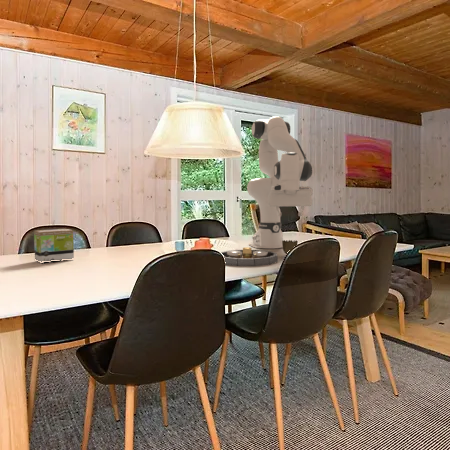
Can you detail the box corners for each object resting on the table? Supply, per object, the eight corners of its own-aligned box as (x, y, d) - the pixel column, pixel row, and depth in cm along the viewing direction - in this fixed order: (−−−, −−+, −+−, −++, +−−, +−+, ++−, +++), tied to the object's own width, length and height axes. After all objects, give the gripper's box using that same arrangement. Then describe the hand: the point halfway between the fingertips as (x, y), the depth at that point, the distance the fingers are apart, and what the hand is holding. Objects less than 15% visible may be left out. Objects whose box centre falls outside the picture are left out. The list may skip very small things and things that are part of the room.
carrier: (208, 258, 187) (208, 246, 187) (258, 254, 199) (258, 242, 198) (233, 268, 163) (233, 254, 163) (288, 262, 174) (288, 249, 174)
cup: (297, 258, 184) (297, 241, 183) (281, 258, 185) (281, 241, 185) (297, 256, 191) (297, 239, 191) (282, 255, 193) (282, 239, 192)
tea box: (41, 264, 178) (39, 231, 176) (34, 261, 185) (33, 230, 184) (74, 260, 188) (73, 229, 186) (67, 257, 195) (65, 228, 194)
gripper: (311, 186, 188) (311, 215, 189) (268, 187, 190) (268, 215, 191) (313, 186, 181) (313, 216, 182) (268, 186, 183) (268, 216, 184)
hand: (290, 216), depth 187 cm, fingers open, 8 cm apart
